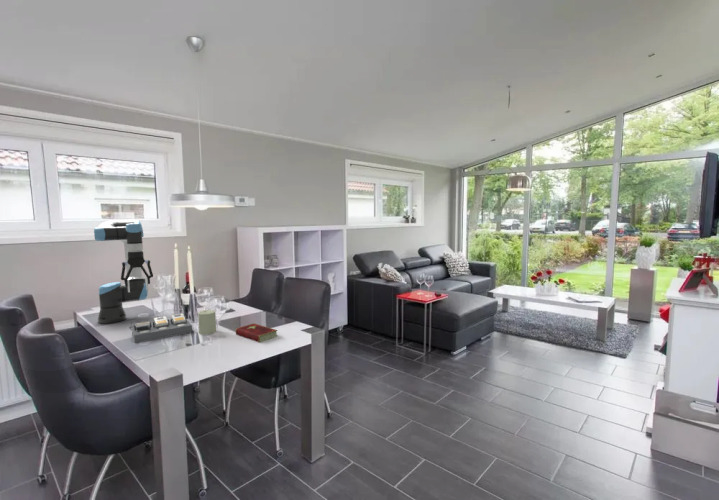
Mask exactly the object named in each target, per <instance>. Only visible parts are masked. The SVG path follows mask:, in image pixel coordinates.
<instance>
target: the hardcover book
mask: <svg viewBox="0 0 719 500" xmlns="http://www.w3.org/2000/svg"><path fill="white" fill-rule="evenodd" d="M277 332H278V329H276V328H272V327H268V326H265V325H262V324H257V323H255V322H254V323H250V324H247V325H243V326H239V327H237V328H235V335H236V336H240V337H242V338H245V339H248V340H251V341H254V342H257V343H262V342H264V341H267V340H270V339H273V338H276V337H277V334H278V333H277Z"/></svg>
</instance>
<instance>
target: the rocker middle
mask: <svg viewBox="0 0 719 500" xmlns="http://www.w3.org/2000/svg"><path fill="white" fill-rule="evenodd" d="M167 319H168V318H167V316H158V317H153V321H154V323H155V325H156V327H157V326H163V325H168V321H167Z"/></svg>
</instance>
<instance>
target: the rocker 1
mask: <svg viewBox="0 0 719 500" xmlns="http://www.w3.org/2000/svg"><path fill="white" fill-rule="evenodd" d="M150 322H151V321H143V322H138V323H135V325H136V327H139V326H145V325H150Z"/></svg>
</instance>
